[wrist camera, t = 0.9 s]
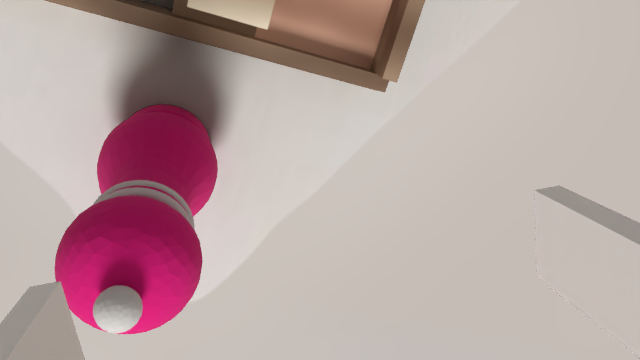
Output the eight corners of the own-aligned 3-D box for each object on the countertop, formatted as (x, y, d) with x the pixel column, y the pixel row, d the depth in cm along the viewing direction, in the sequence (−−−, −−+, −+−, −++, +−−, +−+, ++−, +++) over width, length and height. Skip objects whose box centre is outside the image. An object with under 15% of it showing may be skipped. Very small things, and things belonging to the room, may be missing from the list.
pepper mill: (142, 76, 35) (60, 199, 17) (236, 130, 38) (251, 288, 20) (93, 163, 37) (-31, 360, 19) (186, 209, 39) (156, 423, 21)
